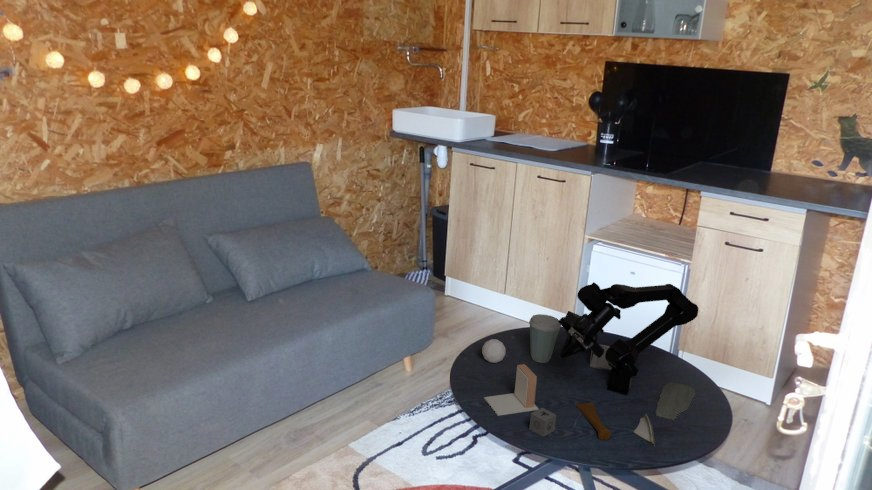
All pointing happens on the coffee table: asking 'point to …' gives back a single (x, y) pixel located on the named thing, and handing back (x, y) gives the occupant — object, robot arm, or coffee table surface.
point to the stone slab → (674, 400)
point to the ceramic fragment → (645, 430)
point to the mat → (507, 404)
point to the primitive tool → (594, 420)
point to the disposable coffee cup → (543, 336)
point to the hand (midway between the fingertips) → (560, 357)
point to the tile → (525, 386)
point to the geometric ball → (493, 351)
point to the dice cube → (542, 422)
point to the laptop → (600, 361)
